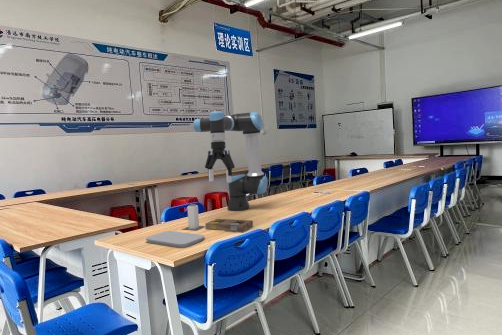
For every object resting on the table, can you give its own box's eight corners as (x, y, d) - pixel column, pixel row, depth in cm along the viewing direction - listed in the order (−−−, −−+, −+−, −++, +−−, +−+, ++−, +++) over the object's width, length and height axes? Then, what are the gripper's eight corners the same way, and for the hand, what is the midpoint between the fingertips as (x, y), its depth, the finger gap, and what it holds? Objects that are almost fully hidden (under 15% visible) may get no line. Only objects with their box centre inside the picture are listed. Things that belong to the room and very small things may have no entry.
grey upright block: (192, 226, 192) (191, 204, 191) (199, 227, 191) (197, 204, 190) (188, 228, 189) (187, 205, 188) (194, 229, 187) (193, 205, 186)
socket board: (217, 224, 196) (216, 218, 196) (252, 227, 187) (252, 220, 187) (205, 230, 185) (205, 223, 185) (242, 232, 176) (242, 225, 176)
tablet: (168, 234, 181) (168, 230, 181) (207, 240, 167) (207, 235, 166) (143, 243, 167) (142, 238, 167) (183, 249, 153) (183, 244, 153)
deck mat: (191, 226, 196) (191, 225, 196) (206, 227, 192) (206, 226, 192) (180, 230, 187) (180, 229, 187) (196, 231, 183) (196, 230, 183)
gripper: (197, 142, 189) (199, 181, 191) (229, 140, 173) (231, 183, 174) (207, 142, 195) (209, 180, 196) (240, 140, 178) (242, 181, 179)
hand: (220, 181), depth 185 cm, fingers open, 13 cm apart
